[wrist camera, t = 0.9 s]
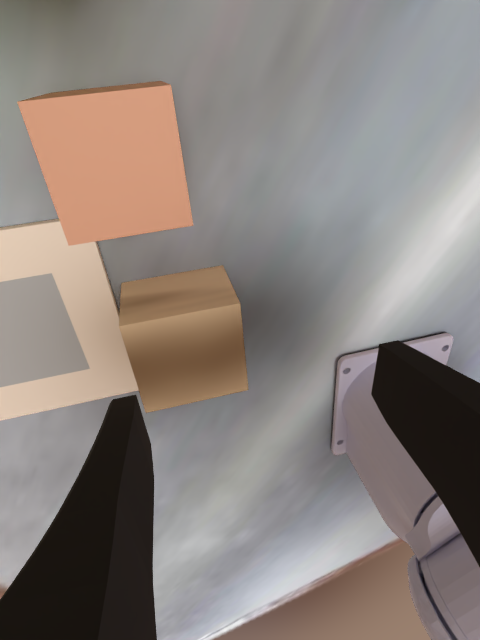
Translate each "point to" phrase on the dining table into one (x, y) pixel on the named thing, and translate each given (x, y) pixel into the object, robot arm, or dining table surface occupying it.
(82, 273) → the square frame
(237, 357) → the maple block
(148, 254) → the dining table surface
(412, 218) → the dining table surface
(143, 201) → the terracotta block
